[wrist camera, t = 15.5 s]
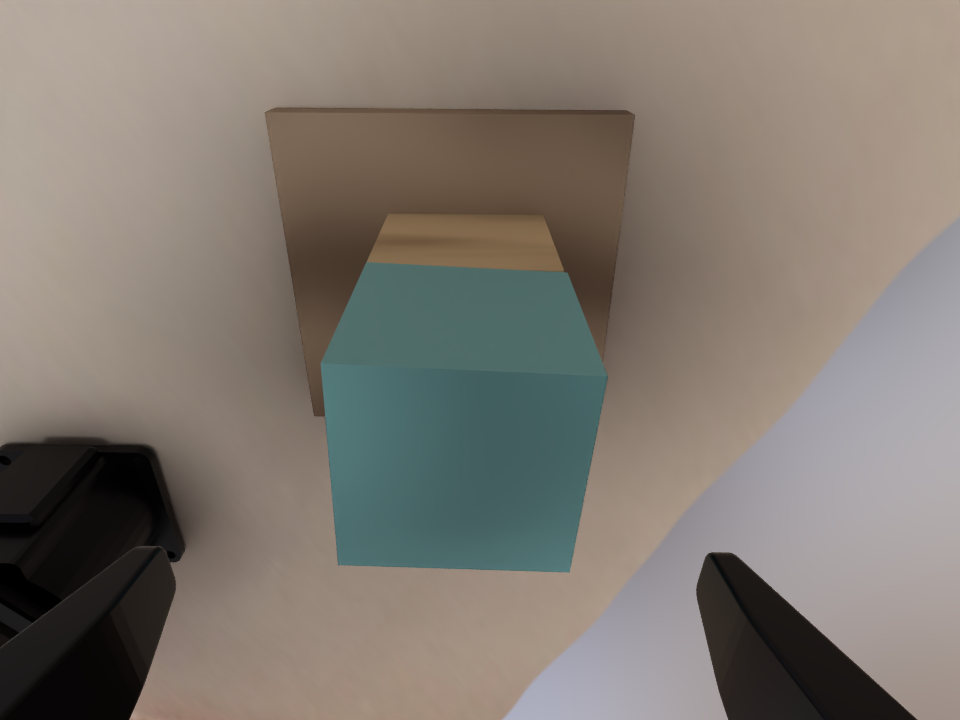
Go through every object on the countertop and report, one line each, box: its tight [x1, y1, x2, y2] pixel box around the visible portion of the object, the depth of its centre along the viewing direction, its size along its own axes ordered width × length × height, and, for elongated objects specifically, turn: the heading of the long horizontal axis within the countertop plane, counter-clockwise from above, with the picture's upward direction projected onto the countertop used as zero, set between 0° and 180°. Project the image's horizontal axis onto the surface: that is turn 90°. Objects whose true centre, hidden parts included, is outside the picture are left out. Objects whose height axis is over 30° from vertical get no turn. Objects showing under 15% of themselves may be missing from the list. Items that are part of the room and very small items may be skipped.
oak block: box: [367, 214, 564, 272], centre depth 18 cm, size 5×5×5 cm
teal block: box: [321, 262, 608, 572], centre depth 14 cm, size 5×5×5 cm
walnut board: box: [265, 108, 635, 416], centre depth 21 cm, size 11×11×2 cm
